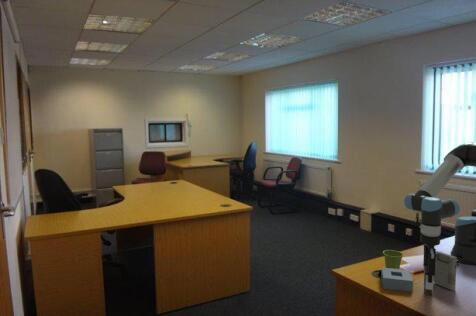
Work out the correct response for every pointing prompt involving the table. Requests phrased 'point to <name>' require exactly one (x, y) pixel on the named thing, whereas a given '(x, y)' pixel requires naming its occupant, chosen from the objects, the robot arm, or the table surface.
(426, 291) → the pin
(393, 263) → the plant pot
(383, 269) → the bore block
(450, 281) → the handheld gaming console
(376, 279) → the table surface
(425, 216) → the robot arm
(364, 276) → the table surface
